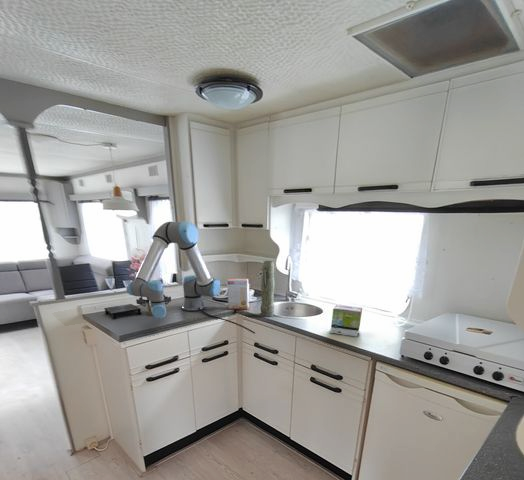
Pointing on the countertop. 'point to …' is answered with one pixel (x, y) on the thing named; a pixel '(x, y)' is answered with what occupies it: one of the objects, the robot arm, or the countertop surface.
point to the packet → (149, 308)
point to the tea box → (346, 320)
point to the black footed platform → (122, 309)
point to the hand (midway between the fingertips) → (152, 297)
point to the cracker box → (238, 294)
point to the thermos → (267, 289)
